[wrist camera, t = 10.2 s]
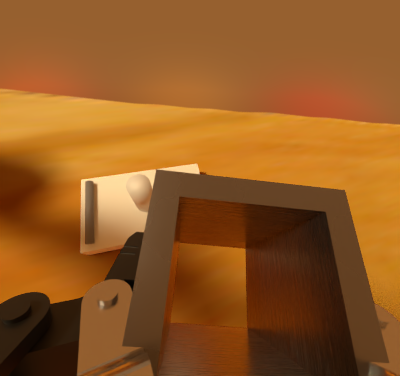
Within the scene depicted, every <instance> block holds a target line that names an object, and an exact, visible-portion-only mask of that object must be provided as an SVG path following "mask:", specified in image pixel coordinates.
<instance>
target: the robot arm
mask: <svg viewBox="0 0 400 376" xmlns="http://www.w3.org/2000/svg"><path fill="white" fill-rule="evenodd" d="M143 235H144V232H135V233H134V234H133V235H131V236H130V237H129V238H128V239H127V241H126V243H125V244H124V247H123V248H122V250H121V251H120V254H119V255H118V257H117V259H116V260H115V262H114V264H113V266H112V268H111V269H110V271H109V273H108V275H107V276H106V278H105V280H104V281H102V282H100V283H98V284H96V285H94V286H93V287H92V288H91V289H89V290H88V291H87V293H86V294H85V296H84V297H81V298H78V299H74V300H69V301H64V302H59V303H53V304H50V300H49V298H48V297H47V295H45V294H43V293H39V292H31V293H25V294H21V295H18V296H15V297H13V298H10V299H8V300H7V301H5V302H3V303H1V304H0V376H153V371H152V367H151V363H150V359H149V356H148V354H147V352H146V353H145V351H144V348H143V347H126V346H122V343H123V338H124V333H125V328H126V323H127V318H128V313H129V307H130V302H131V297H132V292H133V287H134V282H135V277H136V271H137V266H138V261H139V256H140V251H141V246H142V240H143ZM374 305H375V309H376V313H377V317H378V320H379V324H380V328H381V332H382V336H383V340H384V344H385V347H386V351H387V355H388V359H389V363H377V362H369V370H368V376H400V322H399V321H398V320H397V319H396V318H395V317H394V316H393V315H392V314H390V313H389V312H388V311H387V310H385V309H384V308H382V307H380V306H379V305H377V304H375V303H374Z"/></svg>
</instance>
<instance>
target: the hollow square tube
mask: <svg viewBox="0 0 400 376" xmlns="http://www.w3.org/2000/svg"><path fill="white" fill-rule="evenodd" d="M179 243H190V244H201V245H212V246H223V247H233V248H244V249H246V291H247V328H239V327H225V326H211V325H197V324H183V323H170V321H171V312H172V304H173V295H174V286H175V278H176V269H177V260H178V252H179ZM122 346H126V347H143V348H144V351H145V353H146V352H147V354H148V356H149V359H150V363H151V367H152V371H153V376H368V370H369V362H377V363H389V359H388V355H387V351H386V347H385V344H384V340H383V336H382V332H381V328H380V324H379V320H378V317H377V313H376V309H375V305H374V301H373V297H372V293H371V289H370V286H369V282H368V278H367V274H366V270H365V266H364V262H363V258H362V255H361V251H360V247H359V243H358V239H357V235H356V231H355V227H354V224H353V220H352V216H351V212H350V208H349V204H348V200H347V196H346V193H345V190H338V189H329V188H320V187H311V186H302V185H293V184H284V183H275V182H266V181H257V180H248V179H239V178H230V177H221V176H212V175H203V174H194V173H185V172H176V171H167V170H158V169H156V174H155V179H154V184H153V189H152V194H151V199H150V204H149V210H148V215H147V220H146V225H145V230H144V235H143V240H142V246H141V251H140V256H139V261H138V266H137V271H136V277H135V282H134V287H133V292H132V297H131V302H130V307H129V313H128V318H127V323H126V328H125V333H124V338H123V343H122Z"/></svg>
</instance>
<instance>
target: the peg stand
mask: <svg viewBox="0 0 400 376" xmlns="http://www.w3.org/2000/svg"><path fill="white" fill-rule="evenodd" d="M158 170H167V171H176V172H185V173H194V174H200V173H199V169H198V165H197V164H191V165H184V166H177V167H170V168H163V169H158ZM155 174H156V169H155V170H148V171H141V172H134V173H127V174H120V175H113V176H106V177H98V178H91V179H84V180H81V237H80V253H82V254H86V255H92V254H97V253H102V252H107V251H112V250H117V249H122V248H123V247H124V244H125V243H126V241H127V239H128V238H129V237H130V236H131V235H133V234H134V233H135V232H144V230H145V225H146V220H147V215H148V210H149V204H150V199H151V194H152V189H153V184H154V179H155Z"/></svg>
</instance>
